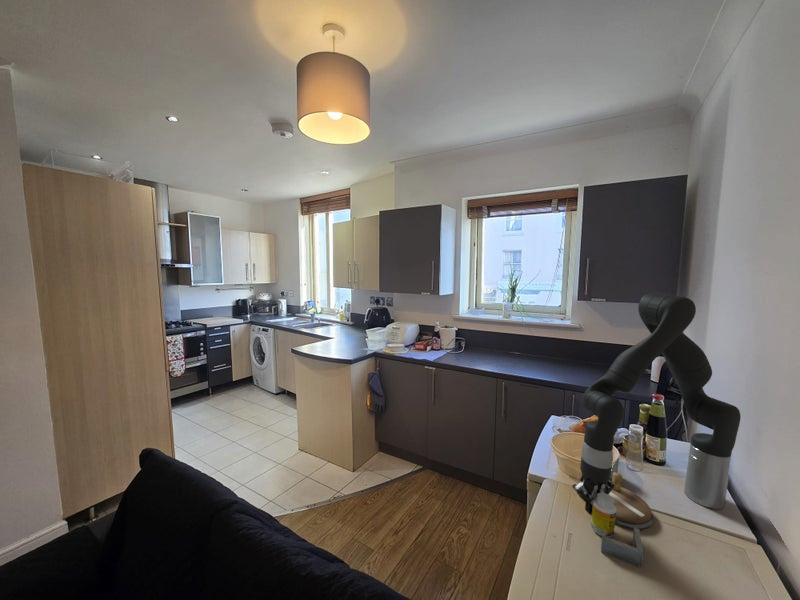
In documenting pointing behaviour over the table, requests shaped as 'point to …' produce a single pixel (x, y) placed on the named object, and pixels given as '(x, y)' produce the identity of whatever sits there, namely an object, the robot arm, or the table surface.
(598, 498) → the supplement bottle
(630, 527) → the base
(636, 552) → the centring stop
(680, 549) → the table surface
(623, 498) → the disc
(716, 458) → the robot arm
